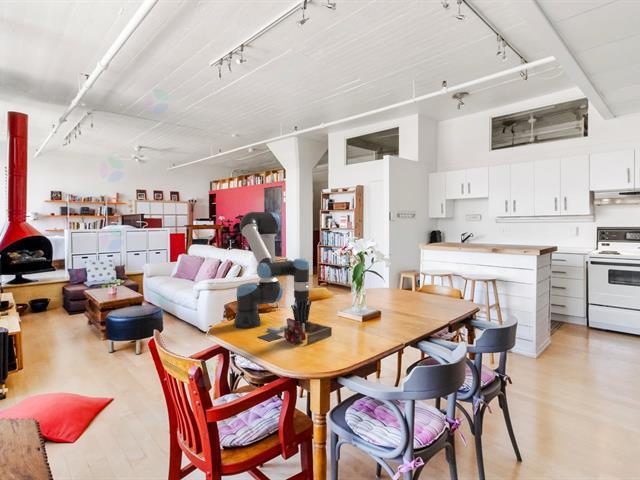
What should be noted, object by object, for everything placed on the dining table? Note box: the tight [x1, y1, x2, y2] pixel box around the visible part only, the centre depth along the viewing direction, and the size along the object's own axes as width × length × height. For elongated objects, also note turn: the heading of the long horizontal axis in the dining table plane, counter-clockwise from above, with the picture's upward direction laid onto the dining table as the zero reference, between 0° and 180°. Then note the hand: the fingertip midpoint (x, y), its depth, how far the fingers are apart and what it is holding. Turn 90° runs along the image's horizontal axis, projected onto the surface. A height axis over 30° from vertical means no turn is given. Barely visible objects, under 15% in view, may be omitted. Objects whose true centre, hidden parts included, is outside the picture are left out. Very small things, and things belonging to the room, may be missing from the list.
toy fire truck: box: [284, 317, 307, 345], centre depth 178 cm, size 7×12×10 cm, turn 37°
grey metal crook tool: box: [279, 325, 288, 333], centre depth 196 cm, size 6×10×2 cm, turn 138°
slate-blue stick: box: [266, 326, 281, 335], centre depth 193 cm, size 8×2×2 cm, turn 48°
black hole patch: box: [257, 332, 283, 342], centre depth 184 cm, size 9×9×1 cm
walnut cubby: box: [283, 320, 333, 345], centre depth 186 cm, size 17×17×4 cm
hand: (301, 335), depth 182 cm, fingers closed
